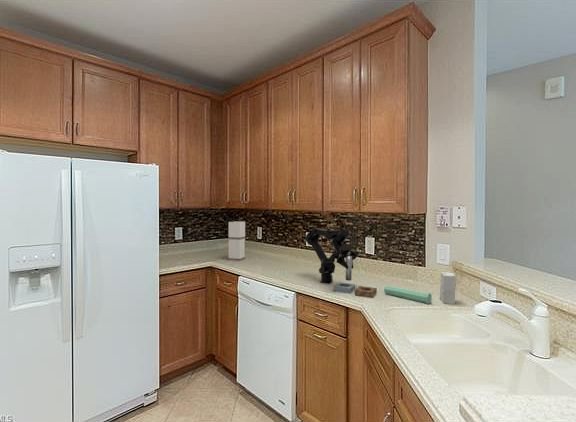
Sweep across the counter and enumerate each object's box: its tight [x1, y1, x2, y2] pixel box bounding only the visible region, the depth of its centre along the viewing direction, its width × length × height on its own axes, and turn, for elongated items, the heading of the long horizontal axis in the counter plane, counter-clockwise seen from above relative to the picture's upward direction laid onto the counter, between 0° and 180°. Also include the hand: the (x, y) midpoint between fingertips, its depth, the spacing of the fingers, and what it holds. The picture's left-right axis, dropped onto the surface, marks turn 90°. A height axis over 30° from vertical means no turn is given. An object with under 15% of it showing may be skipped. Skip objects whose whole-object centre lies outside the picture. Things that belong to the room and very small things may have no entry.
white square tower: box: [228, 220, 246, 262], centre depth 275 cm, size 11×11×35 cm
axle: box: [345, 256, 353, 282], centre depth 176 cm, size 3×3×14 cm
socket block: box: [333, 281, 356, 295], centre depth 178 cm, size 10×10×3 cm
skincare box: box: [439, 271, 457, 305], centre depth 158 cm, size 8×6×15 cm
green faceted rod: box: [383, 285, 433, 305], centre depth 163 cm, size 6×6×25 cm
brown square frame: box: [354, 285, 378, 299], centre depth 170 cm, size 10×10×3 cm
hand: (350, 268), depth 175 cm, fingers closed on axle, 3 cm apart
